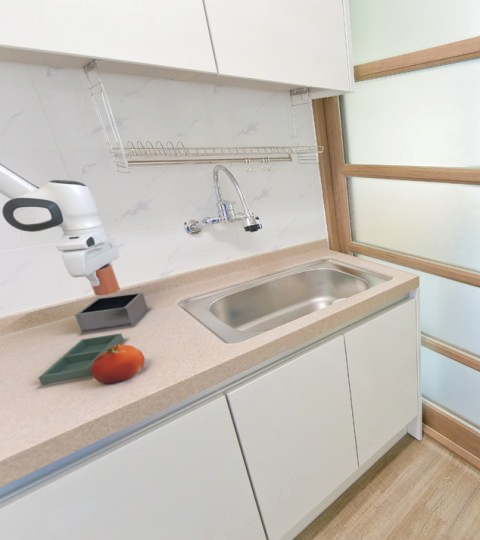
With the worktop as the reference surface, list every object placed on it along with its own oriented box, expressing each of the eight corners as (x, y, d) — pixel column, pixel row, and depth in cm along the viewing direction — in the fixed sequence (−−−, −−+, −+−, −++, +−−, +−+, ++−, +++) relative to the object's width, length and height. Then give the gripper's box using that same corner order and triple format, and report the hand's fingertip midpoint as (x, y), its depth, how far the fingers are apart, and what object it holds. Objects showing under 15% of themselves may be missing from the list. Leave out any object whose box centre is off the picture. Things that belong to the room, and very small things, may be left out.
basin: (82, 334, 98) (74, 314, 96) (104, 316, 109) (97, 298, 107) (132, 327, 102) (126, 307, 99) (148, 309, 113) (142, 292, 111)
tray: (42, 386, 76) (38, 377, 75) (85, 347, 91) (81, 339, 90) (91, 378, 78) (87, 369, 77) (124, 341, 94) (121, 333, 93)
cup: (90, 296, 99) (80, 271, 96) (100, 289, 104) (92, 265, 101) (114, 293, 100) (105, 269, 98) (123, 286, 106) (115, 263, 103)
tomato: (153, 361, 84) (144, 334, 81) (140, 384, 76) (129, 354, 73) (108, 370, 81) (97, 342, 78) (90, 394, 73) (76, 364, 70)
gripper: (93, 230, 105) (107, 271, 109) (51, 247, 86) (71, 295, 91) (117, 228, 106) (130, 269, 111) (80, 244, 88) (98, 291, 93)
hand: (103, 281), depth 101 cm, fingers closed on cup, 6 cm apart
